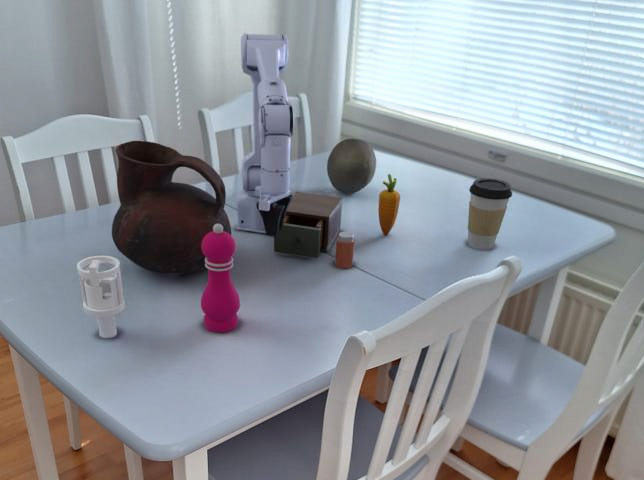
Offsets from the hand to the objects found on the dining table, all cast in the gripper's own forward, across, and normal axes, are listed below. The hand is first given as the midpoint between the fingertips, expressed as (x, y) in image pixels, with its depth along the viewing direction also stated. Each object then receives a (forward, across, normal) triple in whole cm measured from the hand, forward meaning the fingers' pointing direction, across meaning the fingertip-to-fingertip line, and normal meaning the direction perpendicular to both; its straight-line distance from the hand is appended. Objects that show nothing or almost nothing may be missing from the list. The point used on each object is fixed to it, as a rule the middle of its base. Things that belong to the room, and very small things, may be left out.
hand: (274, 232), depth 140 cm
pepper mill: (+10, +24, -2) cm, 26 cm away
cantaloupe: (+10, -56, +4) cm, 57 cm away
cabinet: (+9, -22, +2) cm, 24 cm away
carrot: (+10, -30, +20) cm, 37 cm away
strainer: (+10, +34, -20) cm, 41 cm away
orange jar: (+9, -10, +14) cm, 19 cm away
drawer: (+8, -14, +2) cm, 17 cm away
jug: (+10, +4, -22) cm, 24 cm away
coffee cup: (+10, -32, +42) cm, 54 cm away
